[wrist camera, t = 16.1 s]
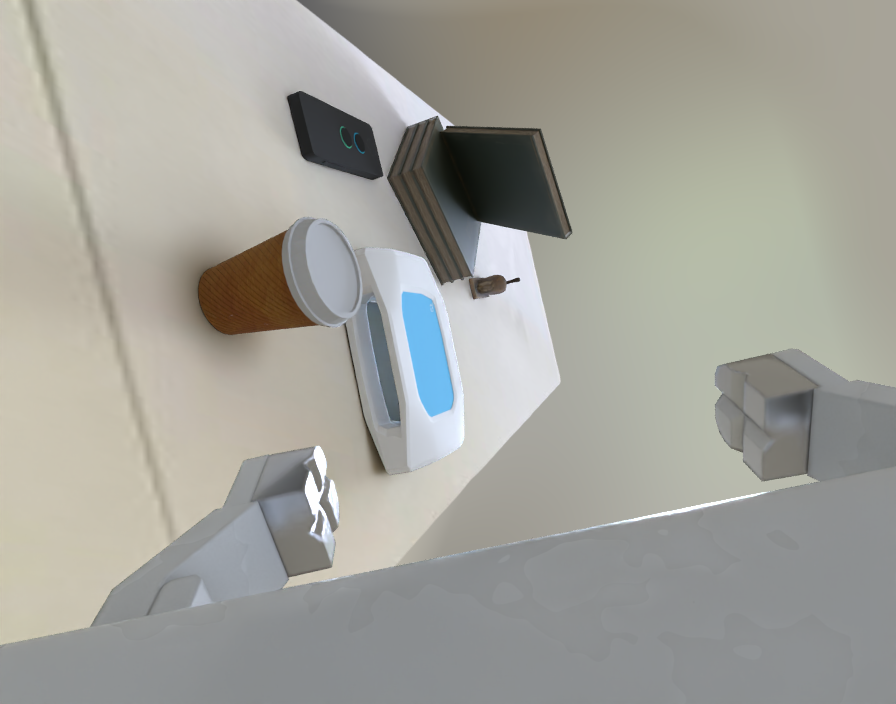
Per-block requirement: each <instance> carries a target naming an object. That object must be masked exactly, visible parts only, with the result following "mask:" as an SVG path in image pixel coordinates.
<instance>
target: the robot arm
mask: <svg viewBox="0 0 896 704" xmlns="http://www.w3.org/2000/svg"><path fill="white" fill-rule="evenodd" d="M715 386H716V387H717V388H718V389H719V390H720V391H721V392H722V395H721V396H720V398H719V399H718V401H717V403H716V404H715V416H716V417H715V418H716V422H717V426H718V429H719V432H720V434H721V436H722V438H723V439H724V441H725V442H726V443H727V444H728V446H729V447H730V448H732V449H734V450H737V451H740V452H743V462H744V463H745V464H746V465H747V466H748V467H749V468H750V469H751V470H752V471H753V472H754V473H755V474H756V475H757V477H758V478H759V479H760V480H761V481H768V480H773V479H779V478H785V477H791V476H797V475H802V474H807V476H810V477H812V478H814V479H816V480H818V481H820V482H815V483H810V484H805V485H800V486H795V487H790V488H785V489H780V490H775V491H770V492H765V493H760V494H755V495H750V496H745V497H740V498H735V499H730V500H725V501H720V502H715V503H710V504H705V505H700V506H695V507H690V508H685V509H680V510H675V511H670V512H665V513H660V514H655V515H650V516H645V517H640V518H635V519H630V520H625V521H620V522H615V523H610V524H605V525H600V526H595V527H590V528H585V529H580V530H575V531H570V532H565V533H560V534H555V535H550V536H545V537H540V538H535V539H530V540H525V541H520V542H515V543H510V544H505V545H500V546H495V547H490V548H484V549H480V550H474V551H469V552H465V553H459V554H454V555H450V556H444V557H440V558H434V559H430V560H424V561H419V562H415V563H409V564H404V565H399V566H394V567H389V568H384V569H379V570H374V571H369V572H364V573H359V574H354V575H349V576H344V577H339V578H334V579H329V580H324V581H319V582H314V583H309V584H304V585H299V586H294V587H289V588H284V589H282V588H283V586H284V585H285V584H286V583H287V581H288V580H289V578H288V577H292V576H297V575H301V574H305V573H310V572H314V571H318V570H323V569H327V568H332V563H333V557H334V551H335V544H336V542H335V539H334V536H333V532H334V531H335V530H336V529H337V528H338V524H339V503H338V498H337V493H336V489H335V486H334V483H333V481H331V480H330V479H329V478H327V477H326V476H325V472H326V467H327V462H326V459H325V457H324V454H323V451H322V449H321V448H320V447H319V446H315V447H309V448H304V449H298V450H293V451H287V452H282V453H276V454H271V455H264V456H260V457H255V458H251V459H247V460H245V461H243V463H242V465H241V467H240V470H239V472H238V474H237V476H236V479H235V481H234V483H233V485H232V488H231V490H230V492H229V494H228V497H227V499H226V501H225V503H224V506H223V508H220V509H215V510H214V511H212V512H211V513H210V514H209V515H207V516H206V517H205V518H203V519H202V520H201V521H200V522H198V523H197V524H196V525H194V526H193V527H192V528H191V529H189V530H188V531H187V532H185V533H184V534H183V535H182V536H180V537H179V538H178V539H176V540H175V541H174V542H173V543H171V544H170V545H169V546H167V547H166V548H165V549H164V550H162V551H161V552H160V553H158V554H157V555H156V556H155V557H153V558H152V559H151V560H149V561H148V562H147V563H146V564H144V565H143V566H142V567H140V568H139V569H138V570H137V571H135V572H134V573H133V574H131V575H130V576H129V577H128V578H126V579H125V580H124V581H122V582H121V583H120V584H119V585H117V586H116V587H115V588H113V589H112V591H111V592H110V594H109V596H108V597H107V599H106V601H105V602H104V604H103V606H102V608H101V609H100V611H99V613H98V614H97V616H96V618H95V619H94V621H93V623H92V624H91V626H90V627H89V628H84V629H79V630H74V631H69V632H64V633H59V634H54V635H48V636H43V637H38V638H33V639H28V640H23V641H18V642H13V643H8V644H3V645H0V704H896V388H895V387H890V386H885V385H880V384H875V383H870V382H864V381H860V380H856V381H850V382H849V381H848V380H846V379H844V378H843V377H841V376H840V375H838V374H836V373H835V372H833V371H832V370H830V369H829V368H827V367H825V366H824V365H822V364H821V363H819V362H818V361H816V360H814V359H813V358H811V357H810V356H808V355H807V354H805V353H803V352H802V351H800V350H798V349H788V350H783V351H779V352H775V353H771V354H766V355H762V356H757V357H753V358H748V359H744V360H740V361H735V362H731V363H727V364H723V365H719V366H717V369H716V372H715Z"/></svg>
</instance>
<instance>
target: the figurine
mask: <svg viewBox="0 0 896 704" xmlns="http://www.w3.org/2000/svg"><path fill="white" fill-rule="evenodd" d="M519 281H520V278H515V279H513V280H510V281H506V280H505V278H504V277H503V276H501V275H493V276H490V277H487V278H471V279H469V282H470V286H471V291H472V295H473V298H474V299H478V298H484V297H489V295H494V294H500V293H503V292H504V291H505V290H506V284H509V283H513V282H519Z"/></svg>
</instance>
